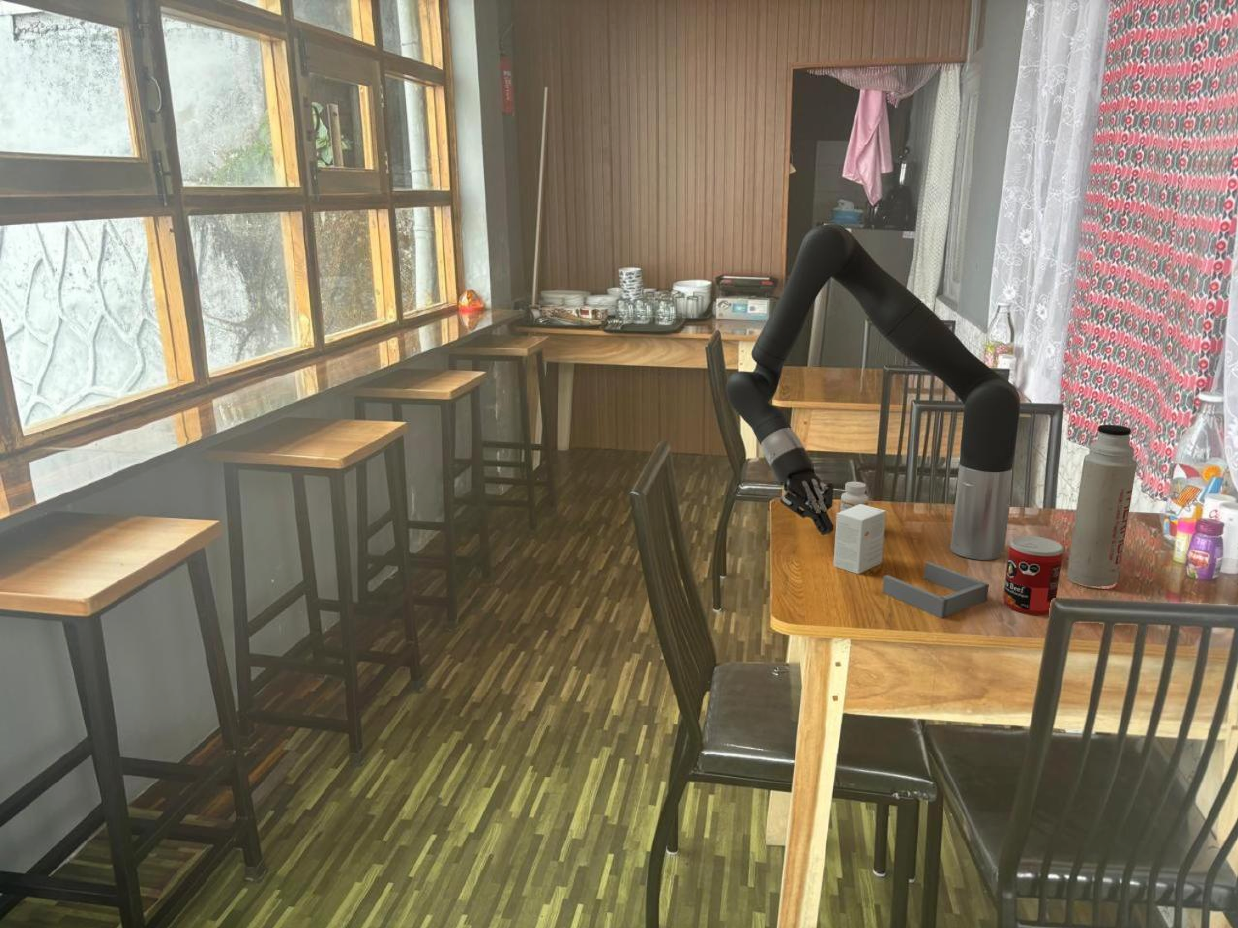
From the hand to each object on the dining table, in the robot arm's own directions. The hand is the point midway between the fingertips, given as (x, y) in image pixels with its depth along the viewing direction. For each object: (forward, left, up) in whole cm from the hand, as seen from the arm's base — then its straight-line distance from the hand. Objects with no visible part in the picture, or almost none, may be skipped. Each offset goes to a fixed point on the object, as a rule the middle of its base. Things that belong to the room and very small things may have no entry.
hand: (828, 532), depth 172 cm
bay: (0, +24, -4) cm, 24 cm away
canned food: (-10, +36, -4) cm, 37 cm away
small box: (0, +8, -4) cm, 9 cm away
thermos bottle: (-29, +36, -4) cm, 46 cm away
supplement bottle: (-14, -6, -4) cm, 16 cm away
